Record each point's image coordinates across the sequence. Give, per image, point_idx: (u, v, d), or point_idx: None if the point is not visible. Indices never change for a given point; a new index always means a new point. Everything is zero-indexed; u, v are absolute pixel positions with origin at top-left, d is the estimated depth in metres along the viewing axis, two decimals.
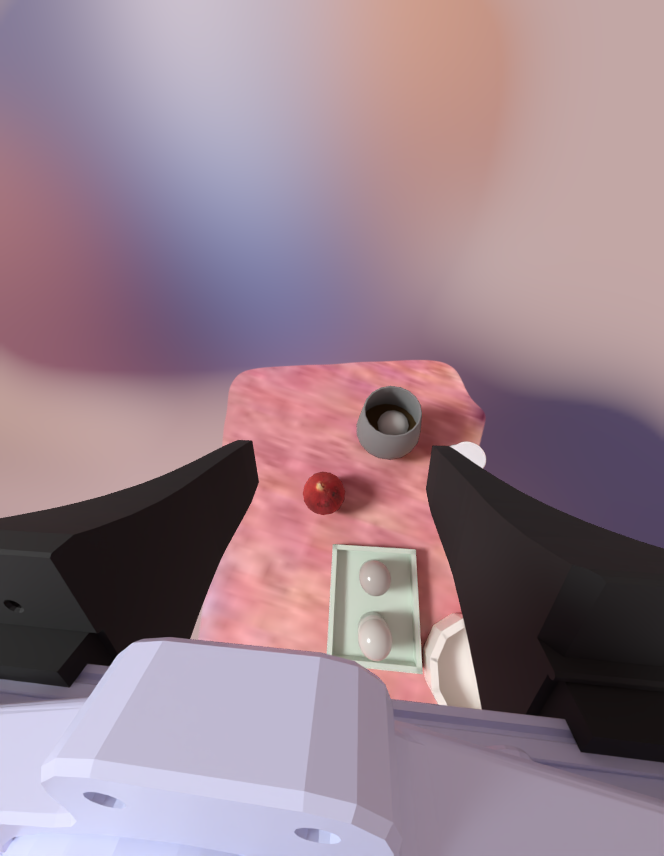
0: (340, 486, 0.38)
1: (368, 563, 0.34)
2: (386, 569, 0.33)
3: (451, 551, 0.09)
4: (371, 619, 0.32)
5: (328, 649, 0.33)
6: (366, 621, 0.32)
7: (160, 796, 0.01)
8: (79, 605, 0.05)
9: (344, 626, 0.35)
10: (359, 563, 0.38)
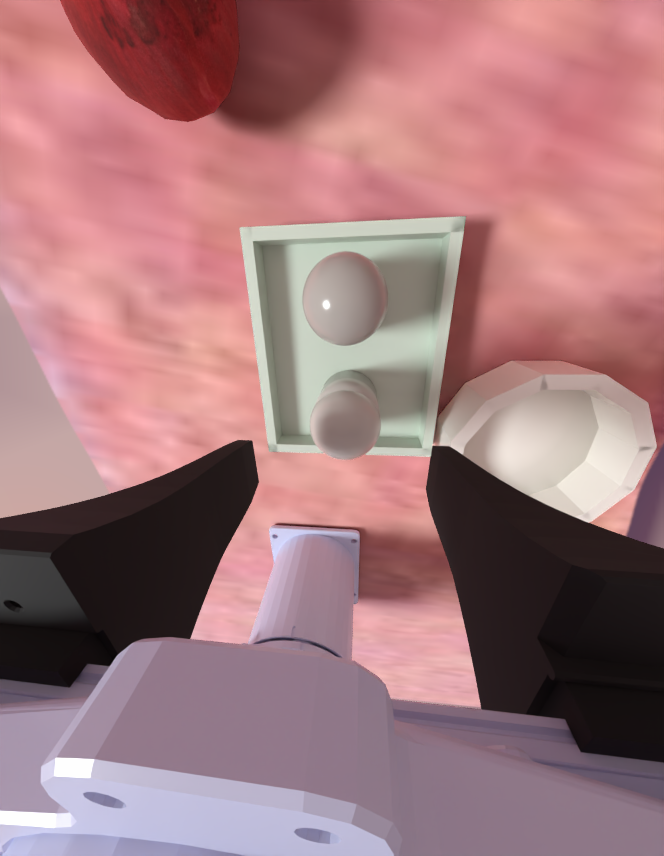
0: None
1: (323, 260, 0.11)
2: (376, 272, 0.11)
3: (451, 551, 0.09)
4: (336, 393, 0.14)
5: (269, 433, 0.19)
6: (325, 397, 0.14)
7: (159, 797, 0.01)
8: (79, 605, 0.05)
9: (296, 397, 0.19)
10: None
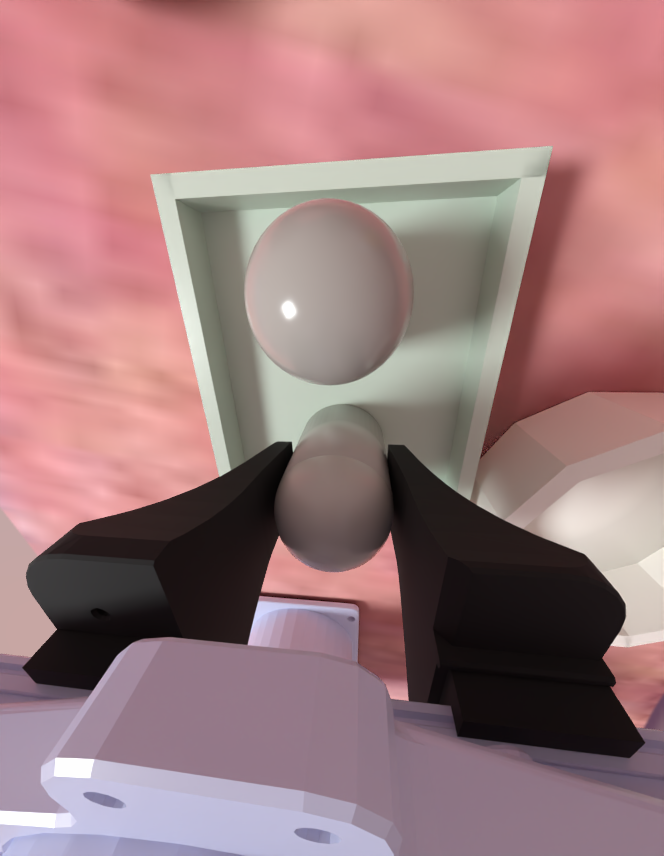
0: None
1: (280, 217, 0.05)
2: (392, 242, 0.05)
3: (397, 547, 0.09)
4: (317, 461, 0.08)
5: None
6: (299, 467, 0.08)
7: (159, 796, 0.01)
8: (172, 614, 0.04)
9: (267, 440, 0.13)
10: None
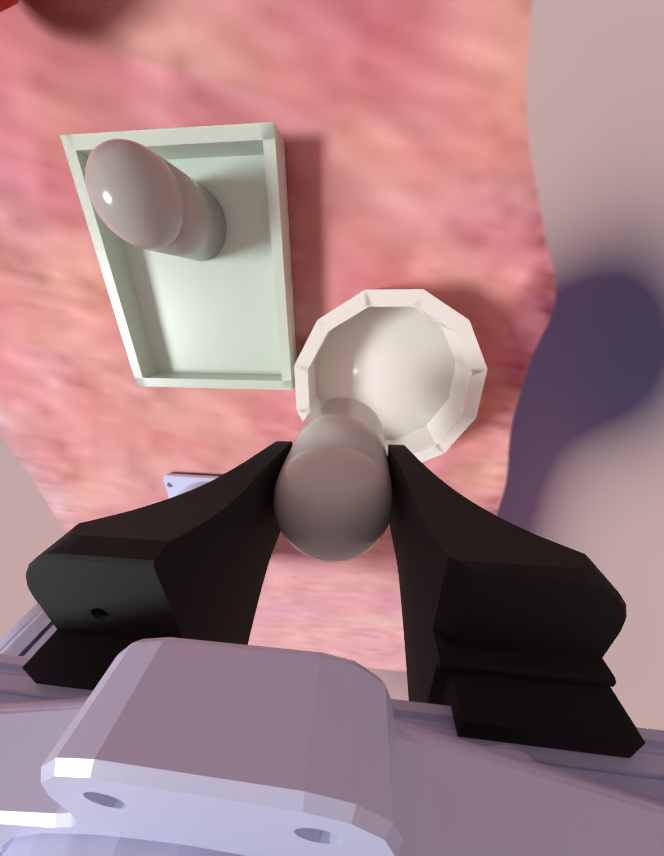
0: None
1: None
2: (148, 159, 0.11)
3: (397, 547, 0.09)
4: (313, 452, 0.08)
5: (133, 366, 0.19)
6: (295, 459, 0.08)
7: (160, 796, 0.01)
8: (172, 614, 0.04)
9: (163, 330, 0.19)
10: None
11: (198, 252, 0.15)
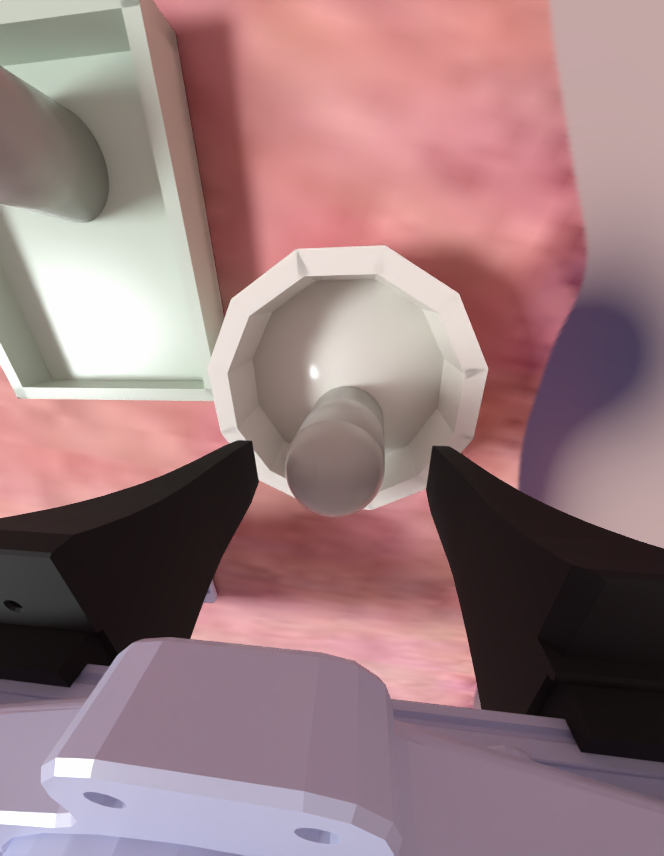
0: None
1: None
2: None
3: (451, 551, 0.09)
4: (316, 425, 0.10)
5: (7, 372, 0.14)
6: (302, 431, 0.10)
7: (160, 796, 0.01)
8: (79, 605, 0.05)
9: (50, 323, 0.14)
10: None
11: (56, 203, 0.10)
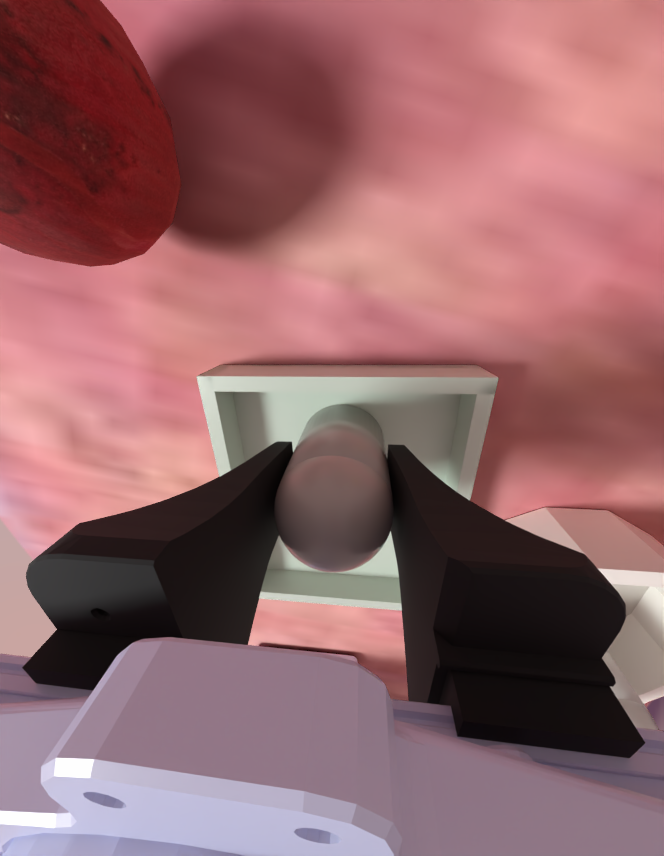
0: (49, 5, 0.05)
1: (301, 479, 0.08)
2: (376, 501, 0.08)
3: (397, 548, 0.09)
4: None
5: None
6: None
7: (161, 796, 0.01)
8: (172, 614, 0.04)
9: None
10: (302, 416, 0.13)
11: None
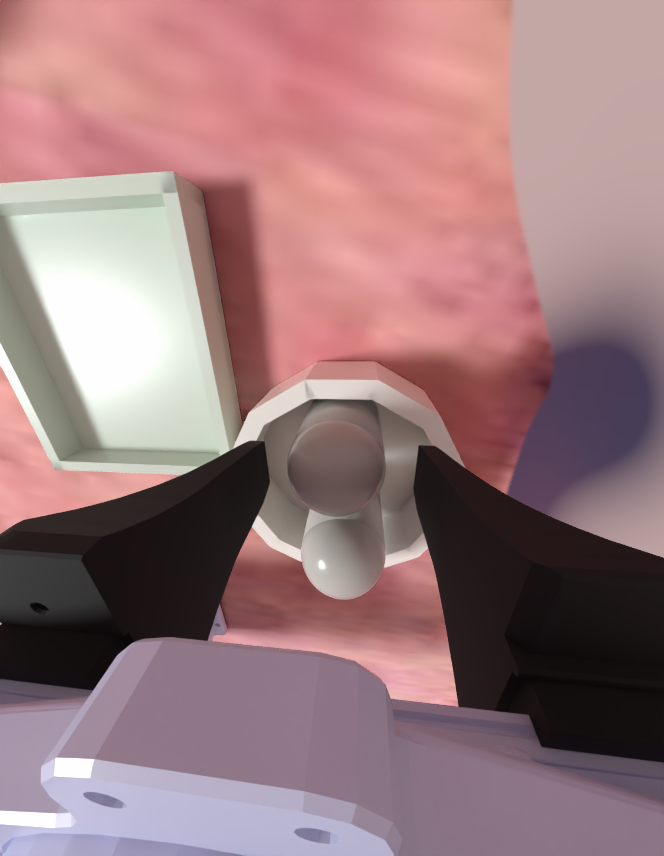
0: None
1: (307, 439, 0.10)
2: (369, 453, 0.09)
3: (434, 550, 0.09)
4: (323, 526, 0.12)
5: (46, 449, 0.16)
6: (312, 531, 0.12)
7: (159, 797, 0.01)
8: (107, 608, 0.05)
9: (83, 404, 0.16)
10: (56, 256, 0.13)
11: None
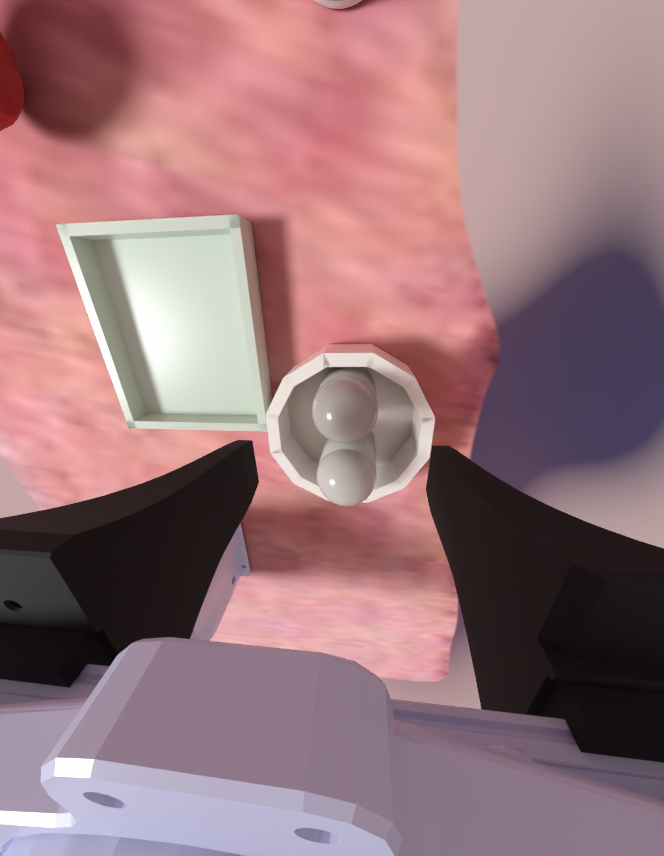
0: None
1: (327, 389, 0.15)
2: (367, 397, 0.15)
3: (451, 551, 0.09)
4: (331, 454, 0.17)
5: (124, 411, 0.21)
6: (323, 459, 0.17)
7: (160, 796, 0.01)
8: (79, 605, 0.05)
9: (152, 378, 0.21)
10: (144, 268, 0.18)
11: None
